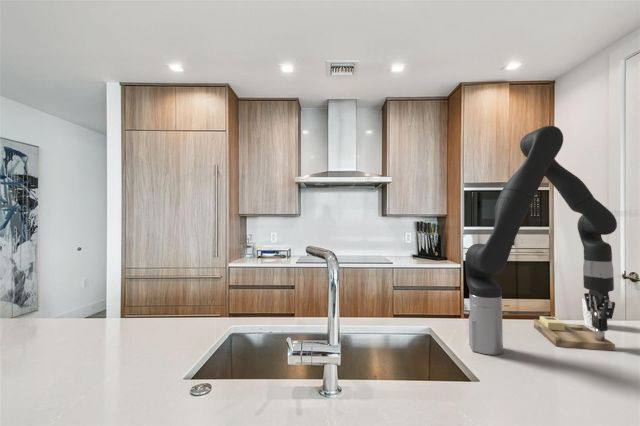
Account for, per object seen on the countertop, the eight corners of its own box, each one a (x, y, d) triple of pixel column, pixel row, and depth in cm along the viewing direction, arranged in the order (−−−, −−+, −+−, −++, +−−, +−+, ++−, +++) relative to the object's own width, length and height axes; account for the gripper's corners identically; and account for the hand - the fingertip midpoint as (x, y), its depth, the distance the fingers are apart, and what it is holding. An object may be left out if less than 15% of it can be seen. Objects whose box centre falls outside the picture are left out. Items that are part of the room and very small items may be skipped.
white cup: (577, 323, 131) (576, 298, 131) (591, 321, 133) (591, 296, 134) (599, 330, 123) (598, 302, 124) (614, 327, 126) (613, 301, 126)
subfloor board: (555, 346, 108) (555, 336, 108) (533, 327, 128) (533, 319, 128) (615, 350, 104) (614, 341, 104) (583, 330, 123) (582, 322, 124)
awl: (596, 341, 107) (595, 312, 107) (591, 337, 110) (590, 310, 110) (608, 342, 106) (607, 313, 106) (603, 338, 109) (602, 310, 109)
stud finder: (548, 329, 118) (548, 322, 118) (539, 322, 126) (539, 315, 126) (564, 330, 117) (564, 323, 117) (555, 323, 124) (555, 316, 124)
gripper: (574, 271, 116) (575, 321, 116) (595, 277, 102) (597, 335, 102) (600, 271, 114) (601, 323, 114) (625, 278, 100) (627, 337, 100)
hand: (599, 328), depth 108 cm, fingers closed on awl, 3 cm apart
